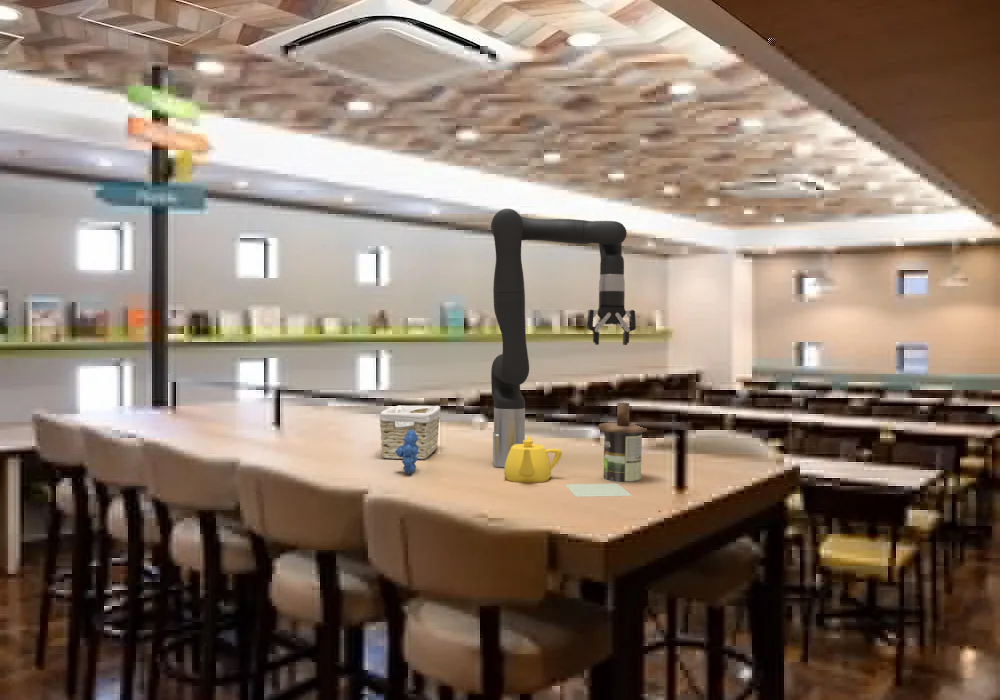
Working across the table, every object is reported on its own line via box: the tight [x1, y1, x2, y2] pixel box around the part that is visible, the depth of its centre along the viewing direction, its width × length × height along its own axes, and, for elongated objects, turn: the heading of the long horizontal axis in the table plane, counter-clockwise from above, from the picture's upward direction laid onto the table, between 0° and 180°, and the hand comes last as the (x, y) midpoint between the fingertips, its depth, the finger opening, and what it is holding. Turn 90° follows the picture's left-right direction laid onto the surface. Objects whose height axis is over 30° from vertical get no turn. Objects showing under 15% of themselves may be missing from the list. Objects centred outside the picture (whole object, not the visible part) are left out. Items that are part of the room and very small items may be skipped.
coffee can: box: [603, 431, 643, 484], centre depth 205 cm, size 10×10×14 cm
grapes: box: [395, 430, 419, 475], centre depth 214 cm, size 12×7×12 cm, turn 177°
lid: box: [598, 402, 648, 433], centre depth 205 cm, size 13×13×7 cm
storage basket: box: [379, 404, 441, 460], centre depth 244 cm, size 24×16×15 cm
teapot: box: [503, 436, 563, 484], centre depth 206 cm, size 22×16×11 cm
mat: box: [564, 483, 633, 498], centre depth 191 cm, size 14×14×1 cm
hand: (611, 344), depth 226 cm, fingers open, 8 cm apart
